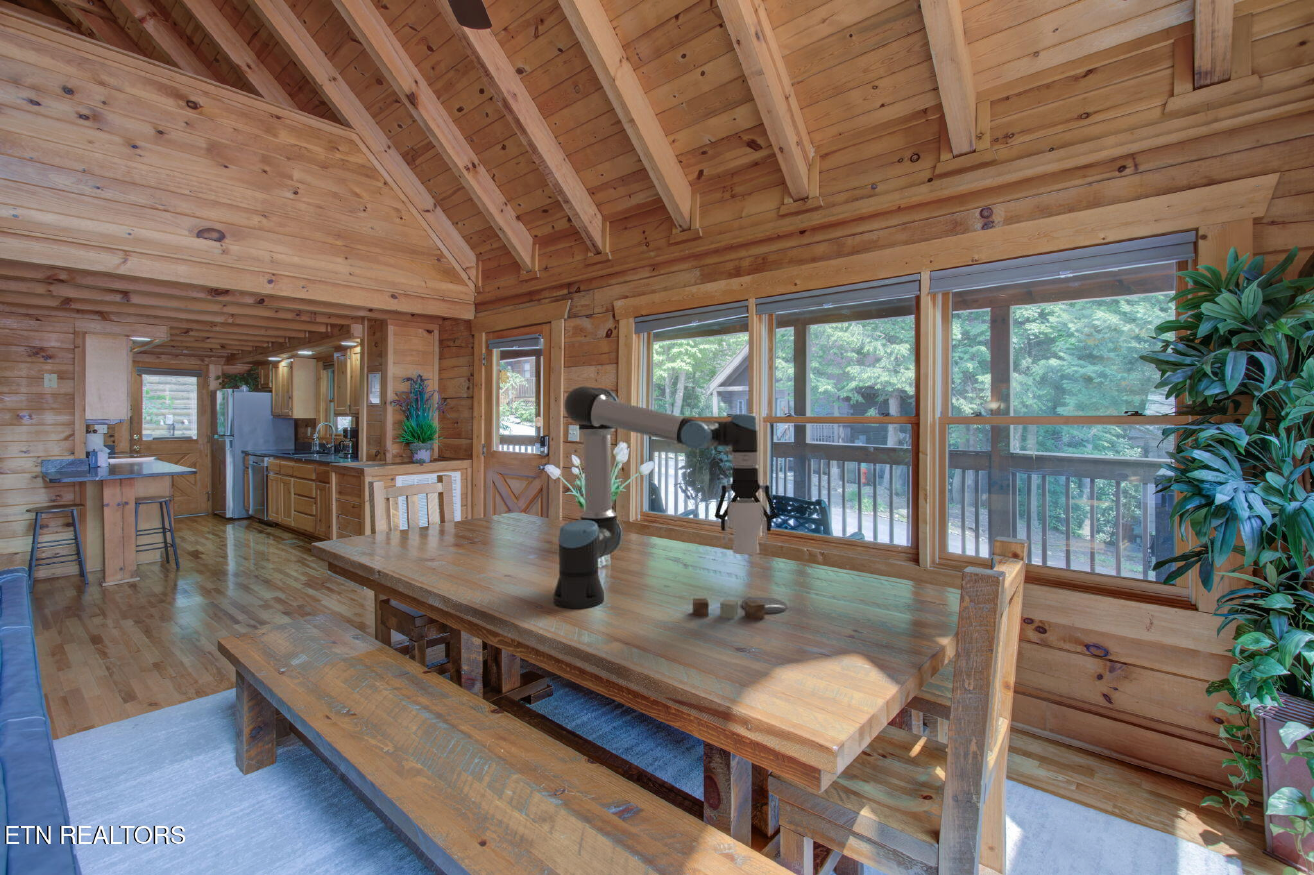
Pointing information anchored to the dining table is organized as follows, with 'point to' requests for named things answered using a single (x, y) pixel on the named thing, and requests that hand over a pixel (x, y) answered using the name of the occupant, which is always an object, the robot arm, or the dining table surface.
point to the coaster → (769, 604)
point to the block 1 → (700, 607)
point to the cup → (745, 525)
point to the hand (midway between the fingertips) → (745, 542)
